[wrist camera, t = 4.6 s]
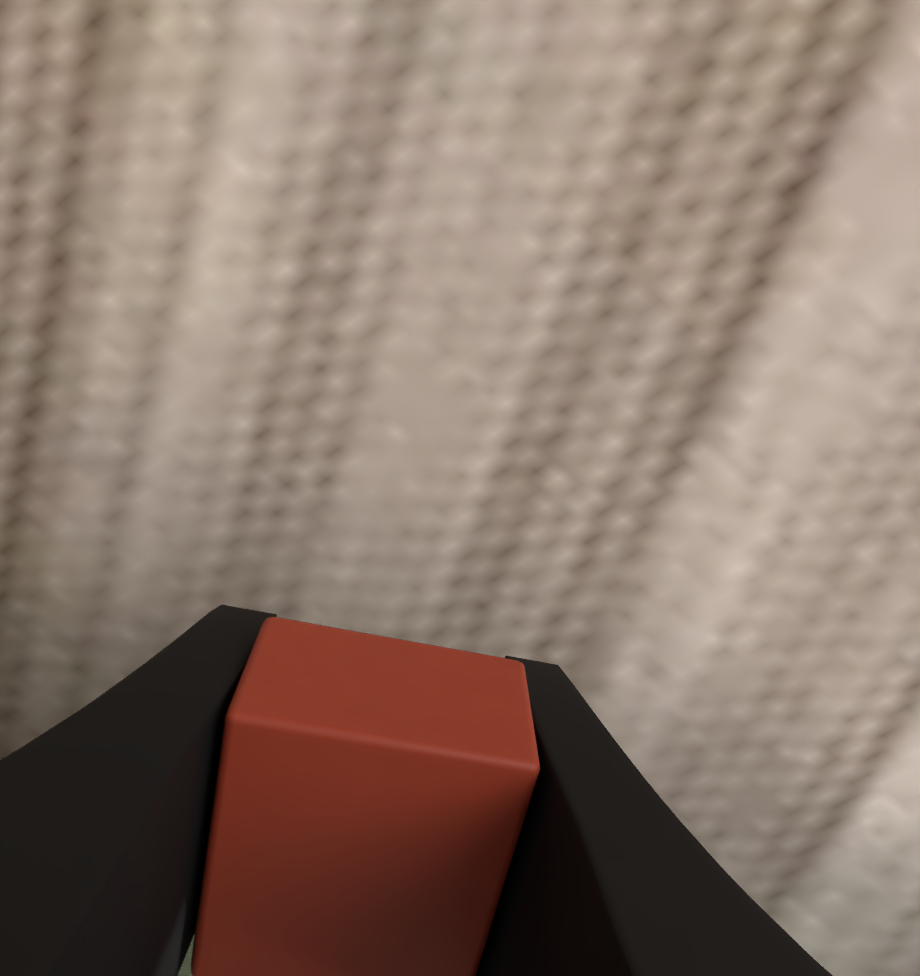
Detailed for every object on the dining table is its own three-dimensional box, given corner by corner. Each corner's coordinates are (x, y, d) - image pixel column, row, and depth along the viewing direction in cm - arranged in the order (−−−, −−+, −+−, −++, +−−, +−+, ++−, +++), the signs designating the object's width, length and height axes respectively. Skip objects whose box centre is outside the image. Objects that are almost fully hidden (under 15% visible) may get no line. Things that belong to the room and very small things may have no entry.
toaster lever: (265, 610, 8) (224, 713, 6) (526, 658, 8) (544, 766, 7) (197, 1062, 10) (154, 1214, 9) (403, 1089, 10) (396, 1242, 9)
